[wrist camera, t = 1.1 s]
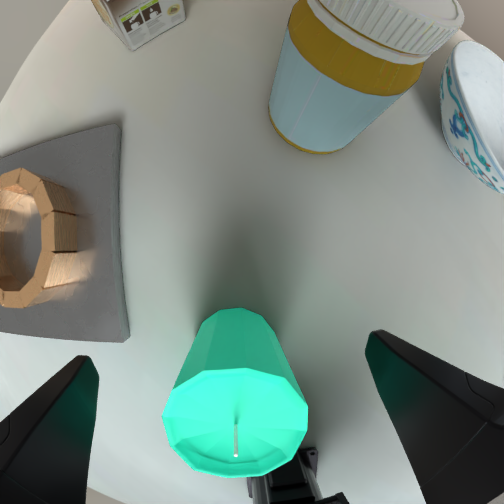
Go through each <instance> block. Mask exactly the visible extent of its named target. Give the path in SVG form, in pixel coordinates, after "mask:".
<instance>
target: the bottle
mask: <svg viewBox="0 0 504 504" xmlns="http://www.w3.org/2000/svg"><path fill="white" fill-rule="evenodd" d="M463 22H464V13H463V10H462V8H461V6H460V4H459V3H458V1H457V0H299V1H298V2H297V3H296V4H295V5H294V7H293V9H292V12H291V15H290V18H289V22H288V25H287V29H286V33H285V37H284V41H283V46H282V50H281V54H280V58H279V62H278V66H277V70H276V74H275V79H274V83H273V87H272V91H271V95H270V100H269V107H268V109H269V116H270V120H271V122H272V124H273V126H274V128H275V130H276V131H277V133H278V134H279V135H280V136H281V137H282V138H283V139H284V140H285V141H286V142H287V143H289V144H290V145H292V146H294V147H295V148H297V149H299V150H301V151H305V152H309V153H312V154H329V153H332V152H335V151H338V150H340V149H342V148H343V147H344V146H346V145H347V144H348V143H349V142H351V141H352V140H353V139H354V138H355V137H356V136H357V135H358V134H359V133H361V132H362V131H363V130H364V129H365V128H366V127H367V126H368V125H369V124H370V123H372V122H373V121H374V120H375V119H376V118H377V117H378V116H379V115H380V114H381V113H383V112H384V111H385V110H386V109H387V108H388V107H389V106H390V105H391V104H393V103H394V102H395V101H396V100H397V99H398V98H399V97H400V96H402V95H403V94H404V93H405V92H406V91H407V90H408V89H409V88H410V87H411V86H412V85H413V84H414V83H415V82H416V81H417V80H418V79H419V76H420V74H421V71H422V68H423V65H424V62H425V60H427V59H428V58H429V57H430V56H431V55H432V53H433V52H434V51H437V50H438V49H439V48H440V47H441V46H442V45H443V44H444V43H445V42H446V41H448V40H449V39H450V38H451V37H452V36H453V35H454V34H455V33H456V32H457V31H458V30H459V29H460V28H461V26H462V24H463Z"/></svg>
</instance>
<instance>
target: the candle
mask: <svg viewBox="0 0 504 504" xmlns="http://www.w3.org/2000/svg"><path fill="white" fill-rule="evenodd" d="M162 419H163V423H164V426H165V430H166V434H167V437H168V441H169V444H170V446H171V447H172V449H173V450H174V451H175V452H176V453H177V454H178V455H179V456H180V457H181V458H182V459H183V460H184V461H185V462H186V463H187V464H188V465H189V466H190V467H191V468H192V469H193V470H195V471H199V472H203V473H207V474H211V475H216V476H221V477H226V478H236V477H253V476H263V475H265V474H267V473H269V472H270V471H272V470H274V469H276V468H278V467H280V466H281V465H283V464H285V463H287V462H288V461H290V460H292V458H293V456H294V455H295V453H296V451H297V449H298V447H299V445H300V444H301V442H302V440H303V438H304V436H305V434H306V432H307V424H308V405H307V403H306V401H305V398H304V396H303V394H302V392H301V390H300V387H299V385H298V383H297V381H296V379H295V377H294V374H293V372H292V370H291V368H290V366H289V363H288V361H287V359H286V357H285V355H284V352H283V350H282V348H281V346H280V344H279V341H278V339H277V337H276V335H275V332H274V331H273V330H272V328H271V327H270V326H269V324H268V323H267V322H266V321H265V319H264V318H263V317H262V316H261V315H259V314H256V313H254V312H251V311H249V310H247V309H244V308H242V307H241V308H232V309H222V310H219V311H217V312H216V313H215V314H213V315H212V316H210V317H209V318H208V319H206V320H205V321H203V322H202V324H201V327H200V329H199V331H198V333H197V335H196V338H195V340H194V342H193V344H192V347H191V349H190V351H189V353H188V355H187V358H186V360H185V362H184V364H183V367H182V369H181V371H180V373H179V376H178V378H177V380H176V382H175V385H174V387H173V389H172V392H171V394H170V397H169V399H168V402H167V404H166V407H165V409H164V412H163V414H162Z"/></svg>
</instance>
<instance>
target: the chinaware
mask: <svg viewBox="0 0 504 504" xmlns="http://www.w3.org/2000/svg"><path fill="white" fill-rule="evenodd" d="M440 108H441V114H442V121H441V123H442V131H443V135H444V138H445V140H446V143H447V145H448V147H449V148H450V150H451V152H452V153H453V155H454V156H455V157H456V158H457V159H458V161H459V162H461V163H462V164H463V165H465V166H466V167H468V169H469V170H470V171H471V172H472V173H473V174H474V175H475V176H476V177H477V178H478V179H480V180H481V181H482V182H483V183H485V184H486V185H487V186H489V187H490V188H492V189H494V190H495V191H497V192H499V193H502V194H504V62H503V61H502V60H501V59H500V58H499V57H498V56H497V55H496V54H495V53H493V52H492V51H491V50H489V49H488V48H486V47H485V46H483V45H481V44H479V43H477V42H474V41H469V40H464V41H461V42H459V43H458V44H457V45H456V46H455V48H454V49H453V51H452V52H451V54H450V56H449V58H448V60H447V62H446V64H445V67H444V70H443V73H442V77H441V82H440Z"/></svg>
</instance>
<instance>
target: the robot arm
mask: <svg viewBox="0 0 504 504" xmlns="http://www.w3.org/2000/svg"><path fill="white" fill-rule="evenodd" d="M365 356H366V359H367V362H368V365H369V367H370V370H371V373H372V376H373V379H374V382H375V384H376V387H377V390H378V393H379V395H380V397H381V399H382V401H383V404H384V406H385V408H386V410H387V412H388V414H389V416H390V419H391V421H392V423H393V425H394V427H395V429H396V432H397V434H398V436H399V438H400V441H401V443H402V445H403V447H404V450H405V452H406V454H407V457H408V459H409V461H410V464H411V466H412V469H413V471H414V473H415V476H416V478H417V481H418V483H419V486H420V489H421V491H422V494H423V496H424V499H425V501H426V504H504V389H503V388H501V387H498V386H495V385H493V384H491V383H488V382H486V381H484V380H481V379H479V378H477V377H475V376H473V375H471V374H469V373H467V372H464V371H463V370H461V369H459V368H457V367H455V366H453V365H451V364H449V363H447V362H445V361H443V360H441V359H439V358H437V357H435V356H434V355H432V354H430V353H428V352H426V351H424V350H422V349H420V348H418V347H416V346H414V345H412V344H410V343H408V342H406V341H404V340H402V339H400V338H398V337H396V336H394V335H392V334H391V333H389V332H387V331H385V330H382V329H380V330H375V331H372V332H371V333H370V334H369V338H368V341H367V345H366V348H365ZM98 387H99V374H98V372H97V370H96V368H95V366H94V364H93V362H92V360H91V358H90V357H89V356H84V355H78V356H76V357H75V358H74V359H73V360H71V361H70V362H69V363H68V364H67V365H66V366H64V367H63V368H62V369H61V370H60V371H58V372H57V373H56V374H55V375H54V376H53V377H51V378H50V379H49V380H48V381H47V382H46V383H44V384H43V385H42V386H41V387H40V388H39V389H37V390H36V391H35V392H34V393H33V394H32V395H31V396H29V397H28V398H27V399H26V400H25V401H24V402H23V403H21V404H20V405H19V406H18V407H17V408H16V409H15V410H14V411H12V412H11V413H10V415H8V416H7V417H6V418H5V419H3V420H2V421H1V422H0V504H86V503H85V502H86V489H87V478H88V469H89V460H90V453H91V446H92V439H93V433H94V427H95V421H96V410H97V398H98ZM311 452H313V453H311ZM317 461H318V451H317V449H316V448H315V447H311V448H305V449H299V450H297V451H296V453H295V455H294V456H293V458H292V460H290V461H288V462H287V463H285V464H283V465H281V466H280V467H278V468H276V469H274V470H272V471H270V472H269V473H267V474H265V475H263V476H253V477H247V485H248V492H249V497H250V498H253V504H349V502H348V500H347V499H346V497H345V496H344V494H343V492H340V493H337V494H335V495H334V496H330V497H327V498H324V499H323V497H322V495H321V492H320V489H319V486H318V484H317V481H316V472H317Z"/></svg>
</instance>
